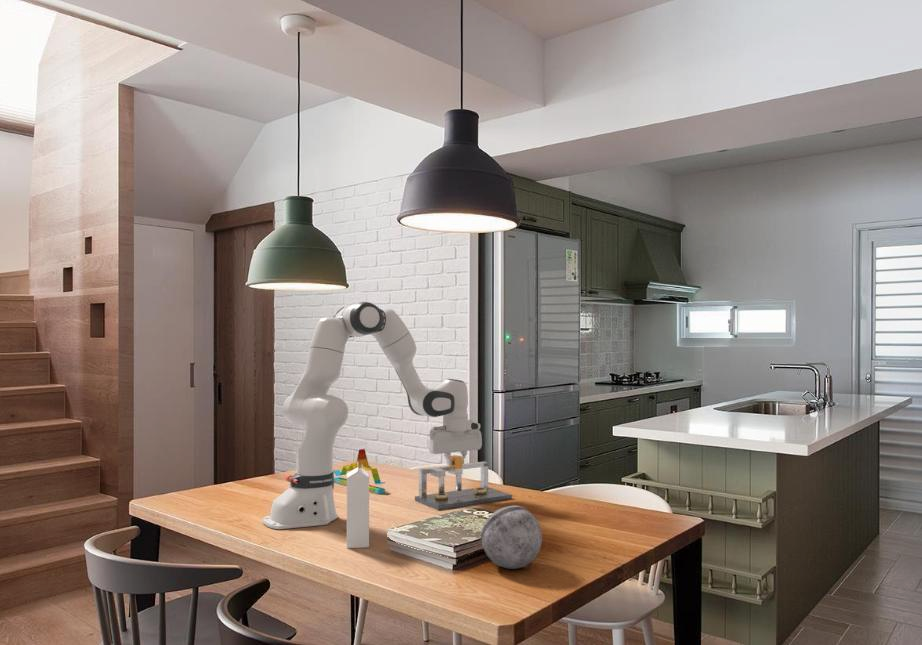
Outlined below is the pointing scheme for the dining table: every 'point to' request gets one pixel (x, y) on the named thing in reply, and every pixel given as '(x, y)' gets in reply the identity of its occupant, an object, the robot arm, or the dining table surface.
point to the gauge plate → (457, 497)
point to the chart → (360, 461)
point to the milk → (357, 509)
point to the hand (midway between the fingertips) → (455, 464)
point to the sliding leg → (456, 470)
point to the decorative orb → (511, 537)
